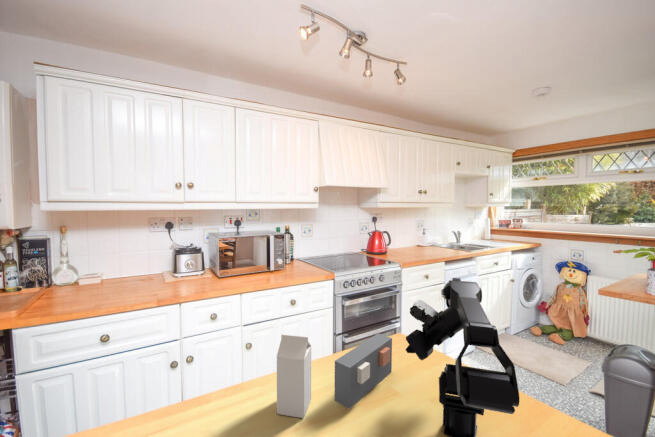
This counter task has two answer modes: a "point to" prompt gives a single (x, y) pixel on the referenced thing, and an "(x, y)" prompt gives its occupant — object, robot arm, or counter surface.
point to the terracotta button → (384, 356)
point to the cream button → (363, 372)
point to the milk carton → (293, 376)
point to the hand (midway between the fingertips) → (409, 348)
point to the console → (346, 370)
